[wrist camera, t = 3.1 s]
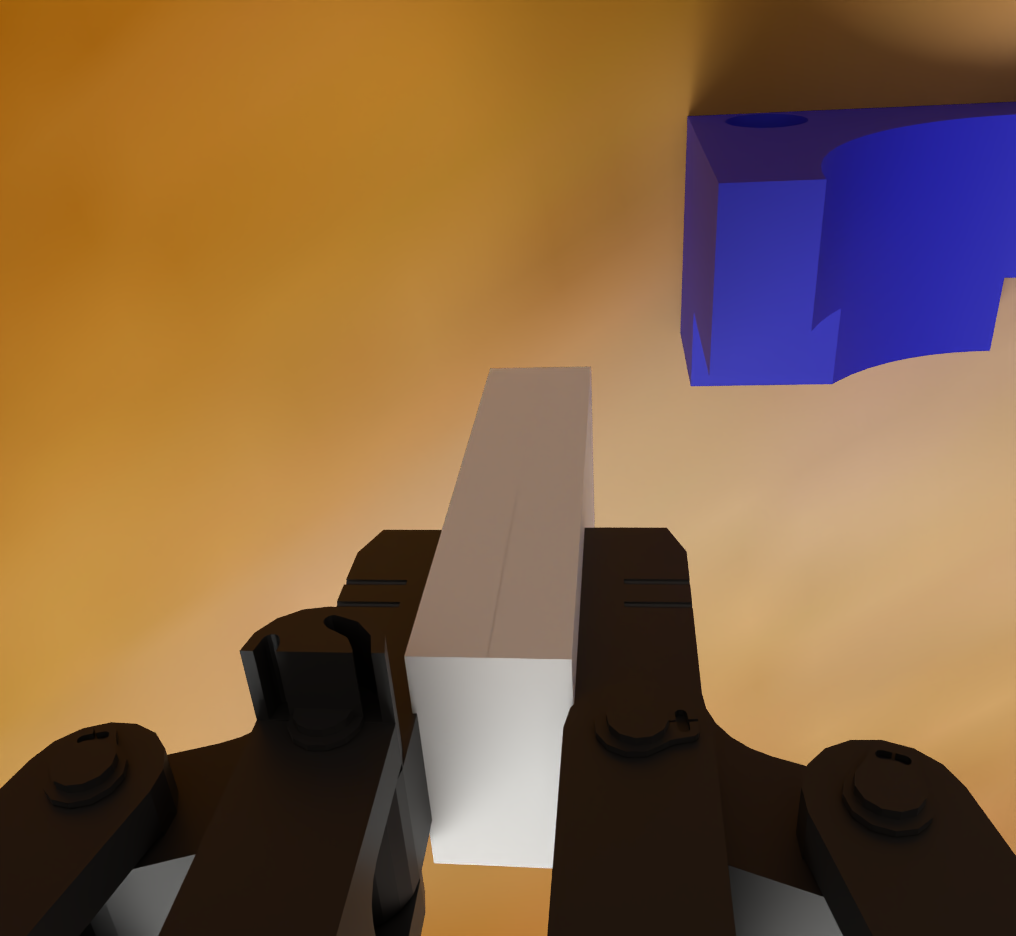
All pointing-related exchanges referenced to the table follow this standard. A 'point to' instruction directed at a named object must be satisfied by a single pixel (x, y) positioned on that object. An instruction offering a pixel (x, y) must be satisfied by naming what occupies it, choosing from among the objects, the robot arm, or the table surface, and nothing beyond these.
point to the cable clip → (844, 239)
